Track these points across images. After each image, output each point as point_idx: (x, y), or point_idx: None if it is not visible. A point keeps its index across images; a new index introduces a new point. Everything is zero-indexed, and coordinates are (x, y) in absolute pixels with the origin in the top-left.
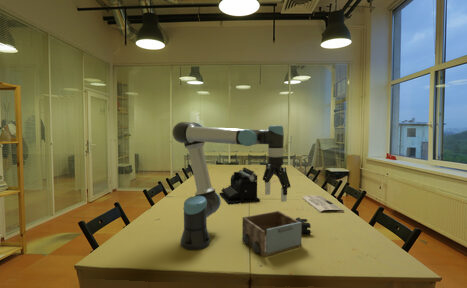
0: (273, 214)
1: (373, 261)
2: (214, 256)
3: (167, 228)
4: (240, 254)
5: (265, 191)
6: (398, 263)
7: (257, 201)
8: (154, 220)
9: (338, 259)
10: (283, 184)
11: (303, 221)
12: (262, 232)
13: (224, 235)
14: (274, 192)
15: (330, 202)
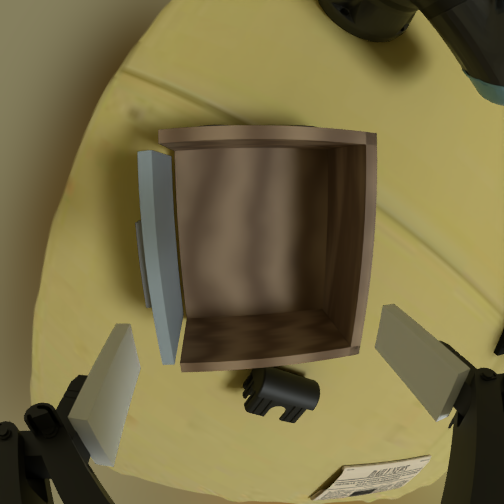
0: (350, 320)
1: None
2: (255, 7)
3: None
4: (227, 78)
5: (408, 318)
6: None
7: (497, 345)
8: None
9: (91, 355)
10: (47, 467)
11: (285, 407)
12: (160, 130)
13: (381, 100)
14: None
15: (361, 494)
